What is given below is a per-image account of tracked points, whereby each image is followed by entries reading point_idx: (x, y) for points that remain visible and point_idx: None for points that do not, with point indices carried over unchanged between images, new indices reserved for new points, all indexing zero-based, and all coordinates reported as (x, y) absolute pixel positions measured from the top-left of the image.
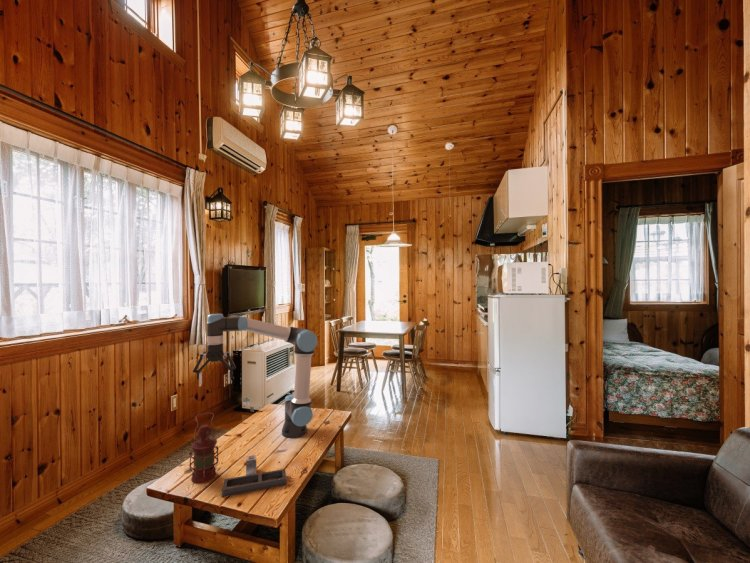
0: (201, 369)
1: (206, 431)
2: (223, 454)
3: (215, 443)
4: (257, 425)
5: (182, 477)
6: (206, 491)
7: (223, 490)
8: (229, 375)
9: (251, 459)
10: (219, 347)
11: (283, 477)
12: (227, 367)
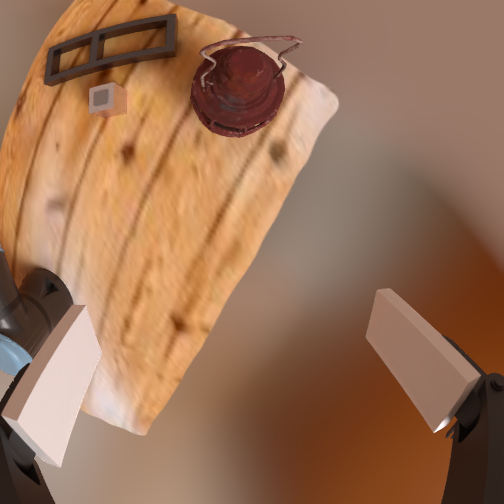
0: (494, 431)
1: (232, 49)
2: (199, 220)
3: (196, 72)
4: (146, 363)
5: (286, 122)
6: None
7: (173, 14)
8: (28, 370)
9: (101, 88)
10: None
11: (52, 51)
12: (6, 484)
